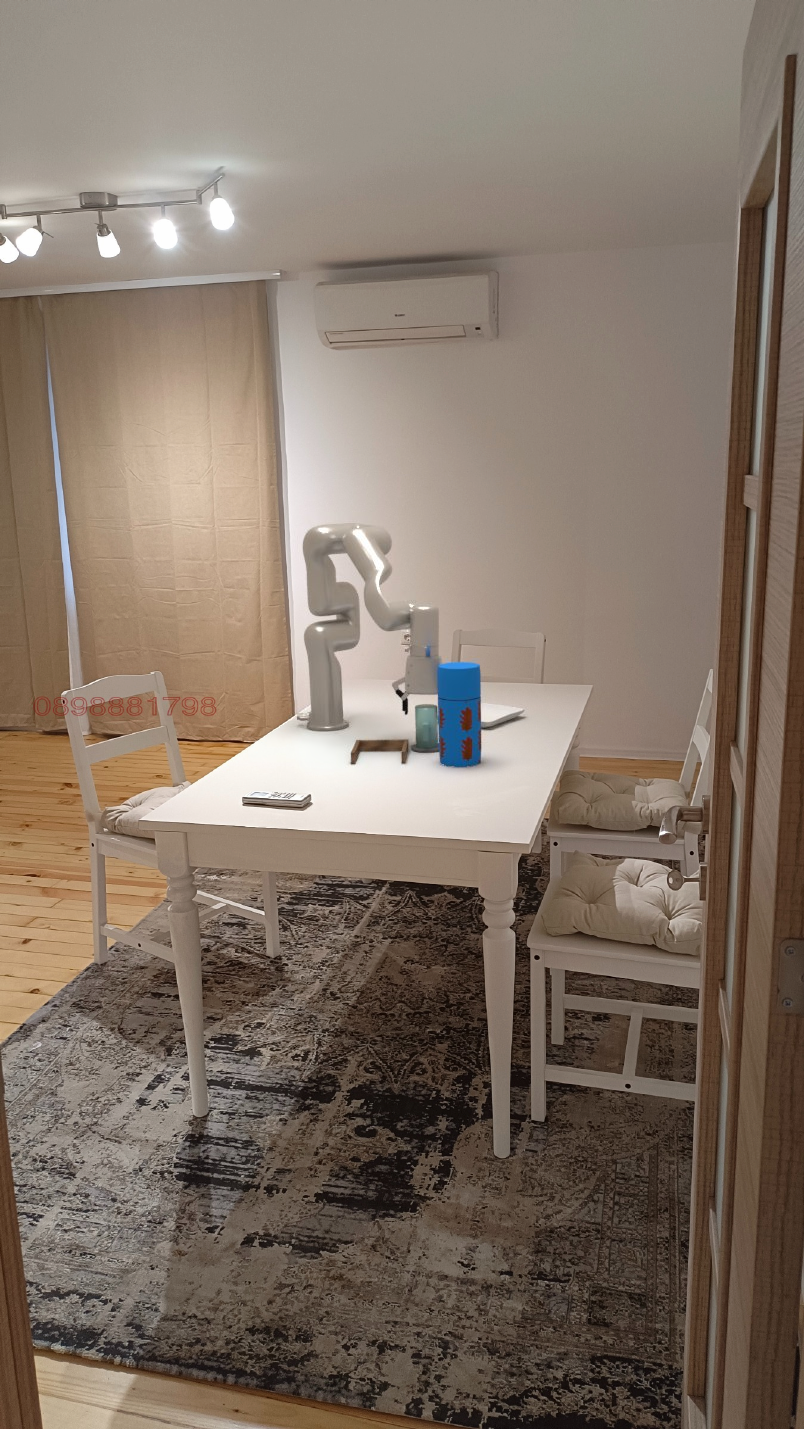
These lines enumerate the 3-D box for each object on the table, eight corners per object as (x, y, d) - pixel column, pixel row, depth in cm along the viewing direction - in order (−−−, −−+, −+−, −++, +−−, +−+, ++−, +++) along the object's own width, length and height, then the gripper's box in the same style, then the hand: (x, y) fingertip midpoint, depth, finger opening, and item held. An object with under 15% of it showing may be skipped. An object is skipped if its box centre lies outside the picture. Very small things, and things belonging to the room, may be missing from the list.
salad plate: (489, 732, 297) (489, 720, 296) (429, 724, 310) (429, 713, 309) (526, 718, 313) (526, 707, 313) (468, 711, 326) (468, 700, 325)
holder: (351, 764, 265) (350, 752, 264) (356, 750, 278) (356, 739, 278) (405, 763, 264) (405, 752, 263) (408, 750, 278) (408, 739, 277)
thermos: (486, 757, 267) (485, 662, 262) (475, 768, 257) (474, 669, 252) (446, 755, 271) (444, 661, 265) (433, 766, 261) (431, 668, 255)
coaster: (409, 752, 275) (409, 750, 274) (411, 744, 283) (411, 742, 283) (443, 752, 274) (443, 750, 274) (444, 744, 283) (444, 742, 283)
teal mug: (416, 743, 282) (415, 704, 279) (438, 743, 281) (437, 703, 279) (414, 751, 274) (414, 710, 271) (437, 751, 273) (436, 710, 271)
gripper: (390, 653, 270) (391, 716, 274) (456, 654, 269) (456, 717, 273) (392, 648, 277) (393, 710, 282) (457, 649, 276) (456, 711, 280)
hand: (424, 713), depth 277 cm, fingers open, 9 cm apart
